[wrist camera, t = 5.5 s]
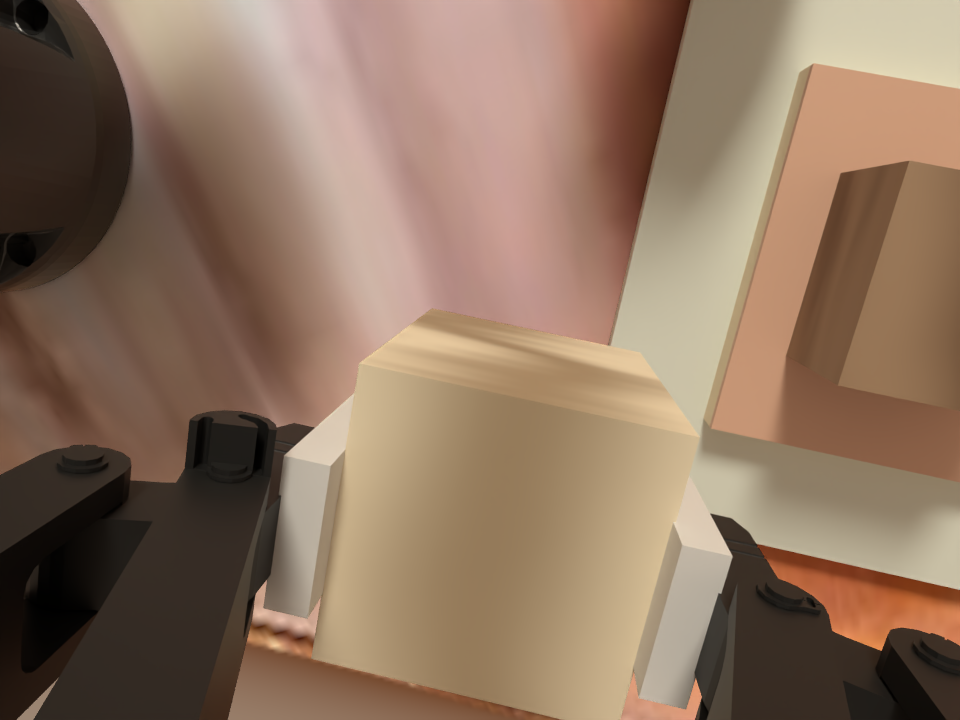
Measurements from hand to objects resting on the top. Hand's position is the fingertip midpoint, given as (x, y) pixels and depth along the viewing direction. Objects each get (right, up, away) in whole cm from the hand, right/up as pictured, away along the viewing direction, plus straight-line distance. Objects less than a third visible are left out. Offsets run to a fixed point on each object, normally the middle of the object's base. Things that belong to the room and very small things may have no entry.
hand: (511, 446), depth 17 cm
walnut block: (+15, +5, +9) cm, 18 cm away
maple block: (0, 0, +1) cm, 1 cm away
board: (+16, +5, +11) cm, 20 cm away
